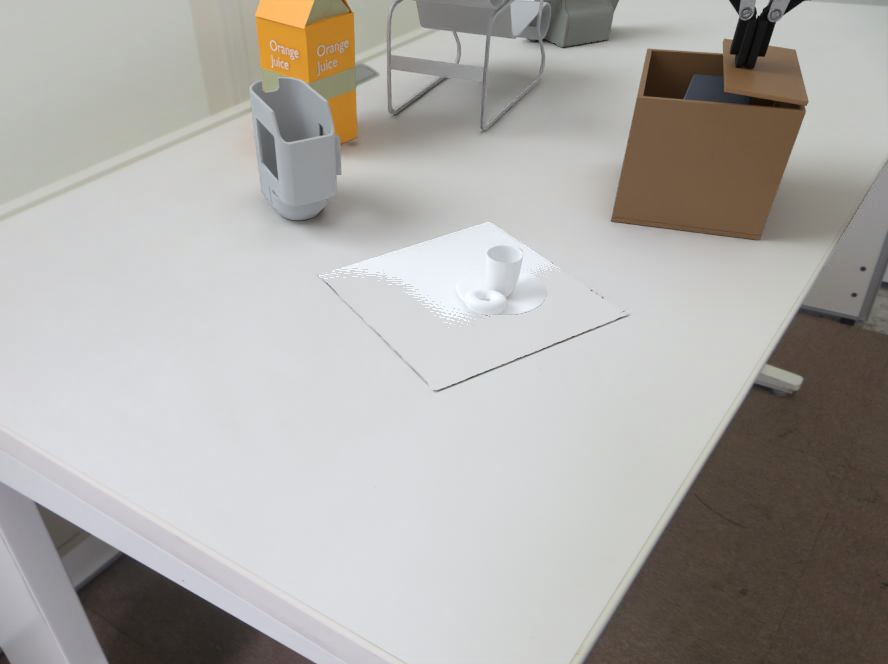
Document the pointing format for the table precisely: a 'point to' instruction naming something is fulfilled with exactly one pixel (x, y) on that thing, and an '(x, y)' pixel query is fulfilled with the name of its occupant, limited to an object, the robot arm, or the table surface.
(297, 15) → the orange juice
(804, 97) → the flap
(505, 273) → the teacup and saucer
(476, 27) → the chair
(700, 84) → the small box
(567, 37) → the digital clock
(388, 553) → the table surface
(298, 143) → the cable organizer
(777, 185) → the carton
